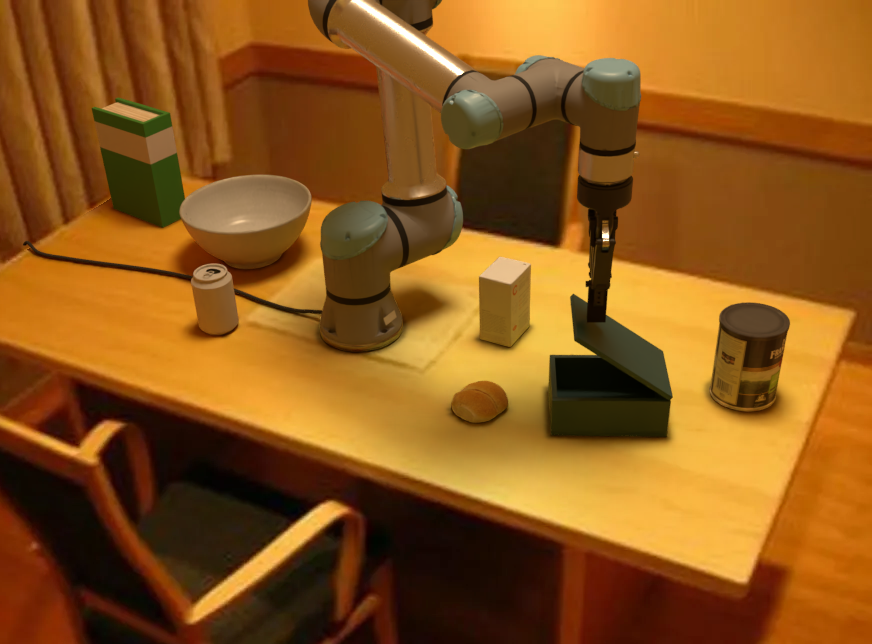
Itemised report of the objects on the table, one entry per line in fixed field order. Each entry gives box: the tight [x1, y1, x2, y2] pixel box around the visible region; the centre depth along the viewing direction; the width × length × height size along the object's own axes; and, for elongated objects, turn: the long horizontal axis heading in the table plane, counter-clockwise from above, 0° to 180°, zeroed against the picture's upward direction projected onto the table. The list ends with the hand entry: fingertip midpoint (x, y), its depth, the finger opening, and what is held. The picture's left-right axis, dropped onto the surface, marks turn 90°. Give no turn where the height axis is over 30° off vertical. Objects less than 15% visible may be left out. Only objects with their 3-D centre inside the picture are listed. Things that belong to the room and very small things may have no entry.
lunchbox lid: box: [569, 293, 674, 401], centre depth 165 cm, size 18×13×1 cm
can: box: [190, 263, 240, 336], centre depth 199 cm, size 8×8×12 cm
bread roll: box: [450, 380, 509, 424], centre depth 174 cm, size 8×9×4 cm
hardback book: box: [91, 96, 186, 229], centre depth 238 cm, size 18×7×24 cm, turn 49°
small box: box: [478, 256, 532, 348], centre depth 190 cm, size 8×6×13 cm
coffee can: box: [709, 302, 791, 412], centre depth 170 cm, size 10×10×14 cm
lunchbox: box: [547, 354, 672, 438], centre depth 170 cm, size 18×13×7 cm
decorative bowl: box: [179, 174, 313, 270], centre depth 221 cm, size 27×27×12 cm
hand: (596, 319), depth 163 cm, fingers closed
